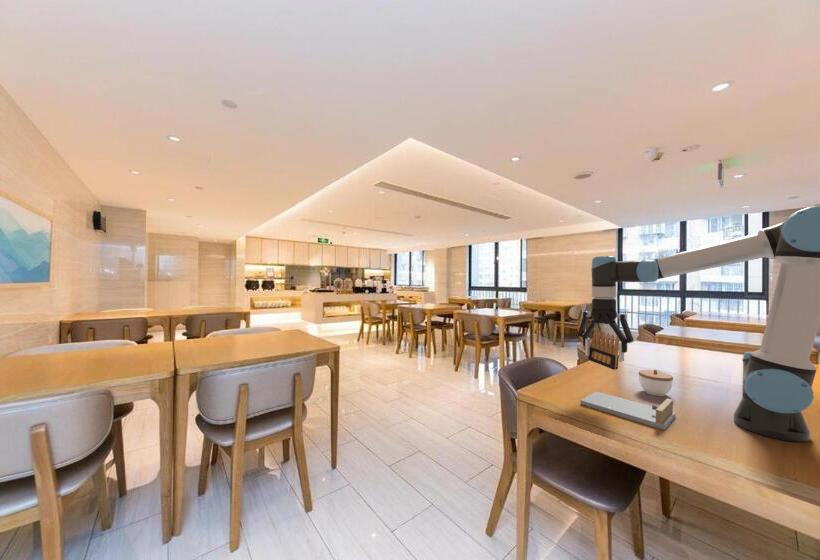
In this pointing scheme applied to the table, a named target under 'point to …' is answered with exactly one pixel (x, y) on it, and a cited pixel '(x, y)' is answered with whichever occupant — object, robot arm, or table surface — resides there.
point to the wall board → (633, 409)
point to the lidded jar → (655, 382)
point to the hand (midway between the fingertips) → (604, 358)
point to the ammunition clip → (604, 350)
